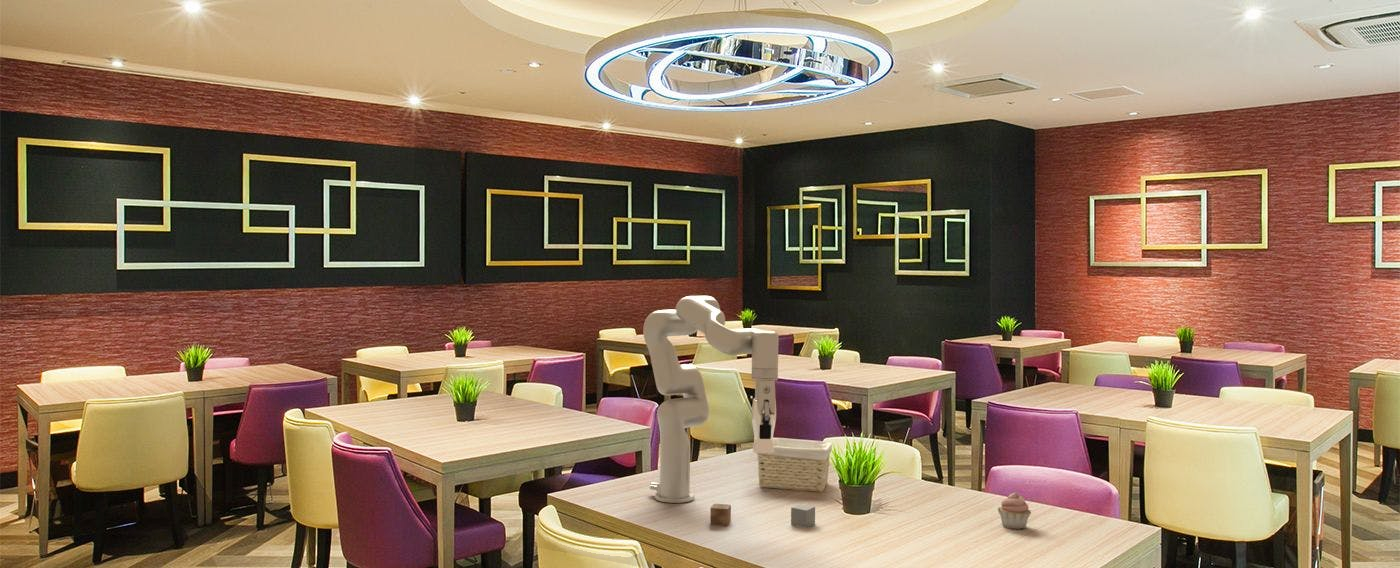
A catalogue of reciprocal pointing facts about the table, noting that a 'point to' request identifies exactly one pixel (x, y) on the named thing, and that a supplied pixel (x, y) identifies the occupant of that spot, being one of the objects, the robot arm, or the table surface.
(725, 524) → the walnut block
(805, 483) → the storage basket
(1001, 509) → the cupcake
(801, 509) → the slate-grey block
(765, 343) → the robot arm
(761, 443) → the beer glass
